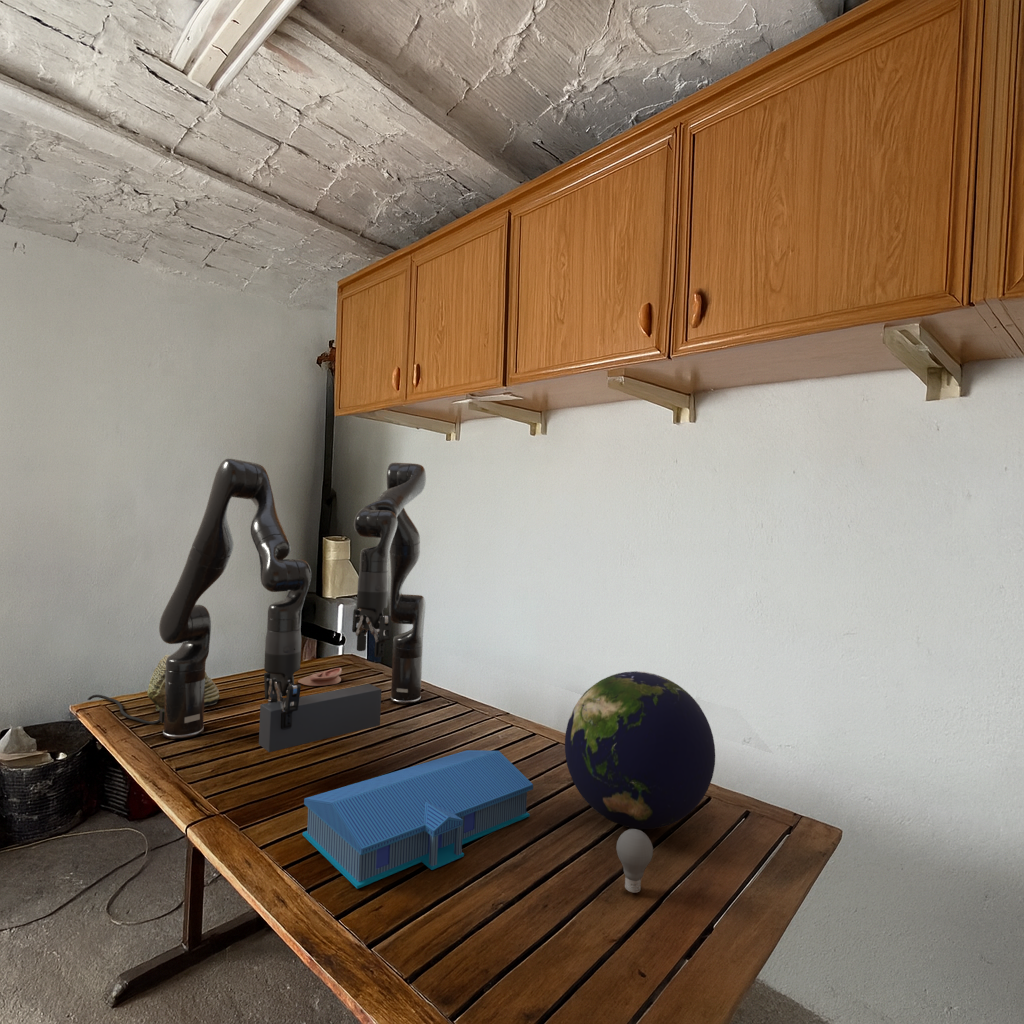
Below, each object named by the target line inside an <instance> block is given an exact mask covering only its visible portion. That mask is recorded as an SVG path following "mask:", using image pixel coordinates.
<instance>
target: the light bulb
mask: <svg viewBox="0 0 1024 1024" xmlns="http://www.w3.org/2000/svg"><path fill="white" fill-rule="evenodd" d="M615 849H616V854H617V857H618V859H619V861H620V863H621V865H622V867H623V873H624V874H623V875H624V876H625V878H624V888H625V890H627V891H628V892H630V893H634V894H635V893H639V892H640V891H641V889H642V887H641V886H642V879H643V877H644V875H645V871H646V868H647V867H648V866H649V864H650V863H651V861H652V859H653V855H654V847H653V843H652V841H651V838H649V836H648V835H647V834H646V833H645V832H643V831H642V830H641V829H636V828H629V829H627V830H625V831H623V832H622V833H621V834H620V835H619V837H618V839H617V841H616V847H615Z"/></svg>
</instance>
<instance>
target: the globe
mask: <svg viewBox="0 0 1024 1024" xmlns="http://www.w3.org/2000/svg"><path fill="white" fill-rule="evenodd" d="M564 735H565V736H564V754H565V761H566V766H567V769H568V773H569V775H570V777H571V780H572V783H573V785H574V786H575V788H576V790H577V791H578V793H579V794H580V796H581V797H582V798H583V799H584V801H585V802H586V803H587V804H588V805H589V806H590V807H591V809H593V810H594V811H596V812H597V813H598V814H600V815H601V816H603V817H604V818H605V819H607V820H608V821H611V822H613V823H615V824H617V825H621V826H623V827H627V828H629V829H637V830H653V829H659V828H664V827H667V826H670V825H672V824H674V823H676V822H677V823H678V822H679V821H681V820H682V819H684V818H685V817H687V816H688V815H689V814H690V813H692V812H693V811H694V810H695V809H696V808H697V807H698V805H700V803H701V801H702V800H703V799H704V797H705V795H706V794H707V792H708V790H709V788H710V785H711V782H712V779H713V777H714V771H715V767H716V749H715V748H716V745H715V739H714V735H713V731H712V728H711V726H710V723H709V720H708V719H707V717H706V715H705V713H704V711H703V709H702V708H701V706H700V704H699V703H698V702H697V700H696V699H695V698H694V697H693V696H692V695H691V694H690V693H689V692H688V691H687V690H685V689H684V688H683V687H681V686H680V685H678V684H677V683H675V682H674V681H672V680H671V679H669V678H666V677H664V676H661V675H659V674H656V673H652V672H647V671H640V670H636V671H623V672H617V673H615V674H612V675H609V676H606V677H604V678H602V679H601V680H599V681H597V682H596V683H594V684H593V685H592V686H591V687H589V688H588V689H587V690H585V692H584V693H583V694H582V695H581V697H580V698H579V699H578V701H577V702H576V703H575V706H574V707H573V708H572V711H571V713H570V715H569V719H568V721H567V724H566V729H565V734H564Z"/></svg>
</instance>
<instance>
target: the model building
mask: <svg viewBox="0 0 1024 1024" xmlns="http://www.w3.org/2000/svg"><path fill="white" fill-rule="evenodd" d="M532 790H534V783H532V782H531V781H530V780H529V779H528V778H527V776H525V775H524V774H523V773H522V772H521V771H520V770H519V769H518V768H517V767H516V766H515V765H514V764H513V763H512V762H511V761H510V760H509V758H507V757H506V756H505V755H504V754H503V753H502V752H501V751H500V750H484V749H483V750H481V749H479V750H477V749H474V750H473V749H470V750H469V749H467V750H463V751H460V752H456V753H452V754H450V755H446V756H443V757H439V758H436V759H433V760H429V761H427V762H423V763H420V764H416V765H413V766H410V767H406V768H402V769H399V770H396V771H392V772H389V773H386V774H382V775H379V776H376V777H372V778H369V779H365V780H362V781H359V782H355V783H352V784H348V785H346V786H342V787H338V788H336V789H332V790H328V791H325V792H321V793H318V794H315V795H312V796H308V797H304V798H303V805H304V806H305V807H307V830H305V831H302V836H303V837H304V838H305V839H306V840H307V841H308V842H309V843H310V844H311V845H312V846H313V847H314V848H315V849H316V850H317V851H318V852H319V853H320V854H321V855H322V856H323V857H324V858H325V859H326V860H327V861H328V862H329V863H330V864H331V865H332V866H333V867H334V868H335V869H336V870H337V871H338V872H339V873H340V874H341V875H343V877H345V879H346V880H347V881H348V882H350V883H351V885H352V886H354V887H355V888H356V890H359V889H361V888H364V887H365V886H368V885H371V884H373V883H376V882H378V881H380V880H381V879H385V878H387V877H390V876H391V875H394V874H396V873H400V872H401V871H403V870H406V869H408V868H411V867H413V866H415V865H418V864H420V863H422V865H424V866H426V867H427V868H428V869H429V870H431V871H434V870H436V869H438V868H440V867H443V866H445V865H447V864H450V863H452V862H455V861H456V860H459V859H461V858H463V857H465V853H464V852H463V845H465V844H468V843H471V842H472V841H475V840H477V839H480V838H481V837H484V836H486V835H489V834H492V833H493V832H496V831H498V830H501V829H503V828H505V827H508V826H510V825H513V824H515V823H517V822H520V821H522V820H525V819H527V818H529V817H530V816H531V814H530V813H529V812H528V811H527V801H528V798H527V797H528V792H530V791H532Z"/></svg>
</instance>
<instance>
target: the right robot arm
mask: <svg viewBox="0 0 1024 1024" xmlns="http://www.w3.org/2000/svg"><path fill="white" fill-rule="evenodd" d="M426 483H427V474H426V469H425V468H424V466H423V465H422V464H419V463H411V462H391V463H390V464H389V465H388V466H387V469H386V489H385V490H384V491H383V492H381V494H380V495H379V496H378V497H377V499H376V500H375V501H373V502H371V503H369V504H367V505H365V506H363V507H362V508H361V509H360V510H358V512H357V513H356V515H355V517H354V521H353V528H354V531H355V532H356V534H357V535H358V536H360V537H362V538H375V539H376V538H377V539H379V541H378V543H377V544H376V545H372V546H366V547H363V548H362V549H361V550H360V554H359V555H360V556H359V573H358V577H357V593H356V608H355V609H354V610H353V614H352V625H351V626H352V627H351V631H352V633H354V634H355V636H356V651H357V652H365V651H366V650H367V634H368V632H369V631H370V634H371V635H372V636H373V637H374V641H375V642H374V653H373V654H374V658H383V657H384V655H385V642H387V641H390V640H391V634H392V631H391V629H392V628H391V627H392V626H391V625H392V623H393V624H397V625H412V627H411V629H409V630H408V631H405V632H402V633H399V634H396V635H395V636H393V640H392V661H391V662H392V664H391V665H392V666H391V685H390V686H391V689H390V701H391V702H392V703H395V704H399V705H411V704H416V703H419V702H420V701H421V700H422V694H421V693H422V672H423V649H424V648H423V647H424V625H425V617H426V599H425V597H424V596H423V595H422V594H404V593H402V589H403V585H404V584H405V581H406V579H407V578H408V576H409V575H410V573H411V572H412V571H413V569H414V568H415V567H416V564H417V563H418V561H419V559H420V556H421V536H420V532H419V530H418V528H417V527H416V525H415V523H414V522H413V520H412V519H411V518H410V516H409V514H408V513H407V511H406V509H405V507H406V506H407V505H408V504H410V503H411V502H412V501H413V500H415V498H417V497H418V496H419V495H421V494H422V493H423V491H424V489H425V487H426ZM389 562H390V563H389ZM389 566H390V589H389ZM388 600H389V610H388V611H389V614H388V615H384V610H385V609H387V608H388Z"/></svg>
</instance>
